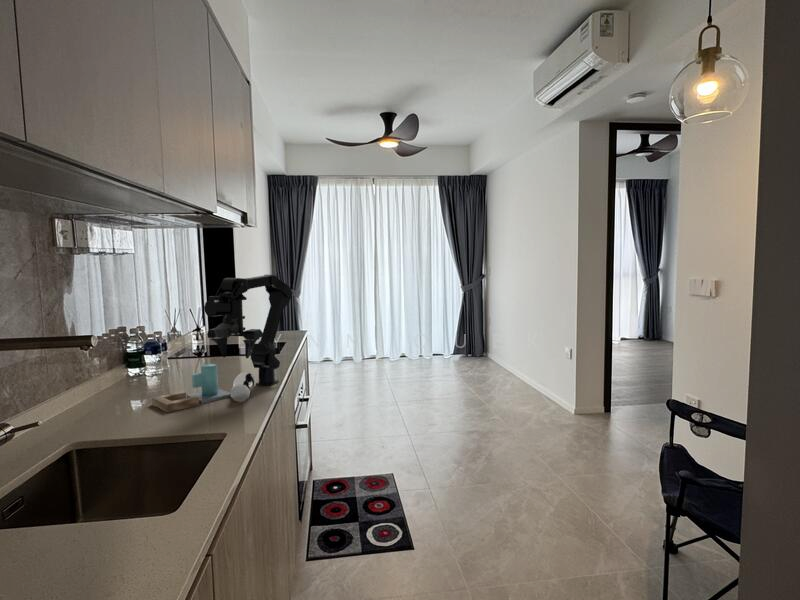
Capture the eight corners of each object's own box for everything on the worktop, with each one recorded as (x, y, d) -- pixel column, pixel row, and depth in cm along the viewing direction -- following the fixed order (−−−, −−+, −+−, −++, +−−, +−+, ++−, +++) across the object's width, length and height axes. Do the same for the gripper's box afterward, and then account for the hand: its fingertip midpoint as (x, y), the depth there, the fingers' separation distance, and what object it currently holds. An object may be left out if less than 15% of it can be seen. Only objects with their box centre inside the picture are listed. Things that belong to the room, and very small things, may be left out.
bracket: (182, 398, 160) (182, 391, 160) (198, 404, 152) (198, 397, 152) (152, 405, 153) (151, 397, 152) (167, 412, 145) (167, 404, 145)
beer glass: (247, 380, 155) (251, 368, 169) (226, 387, 153) (232, 375, 168) (253, 399, 156) (257, 386, 170) (233, 406, 155) (238, 392, 169)
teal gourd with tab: (213, 391, 165) (212, 363, 164) (220, 393, 161) (219, 365, 161) (190, 396, 159) (189, 367, 158) (197, 399, 155) (195, 369, 155)
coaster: (216, 390, 169) (216, 388, 169) (232, 396, 162) (232, 393, 162) (186, 397, 161) (186, 394, 161) (201, 403, 153) (201, 400, 153)
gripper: (195, 315, 157) (197, 361, 158) (244, 317, 152) (246, 363, 153) (216, 312, 168) (218, 355, 169) (262, 313, 163) (264, 357, 164)
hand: (235, 357), depth 164 cm, fingers open, 9 cm apart
